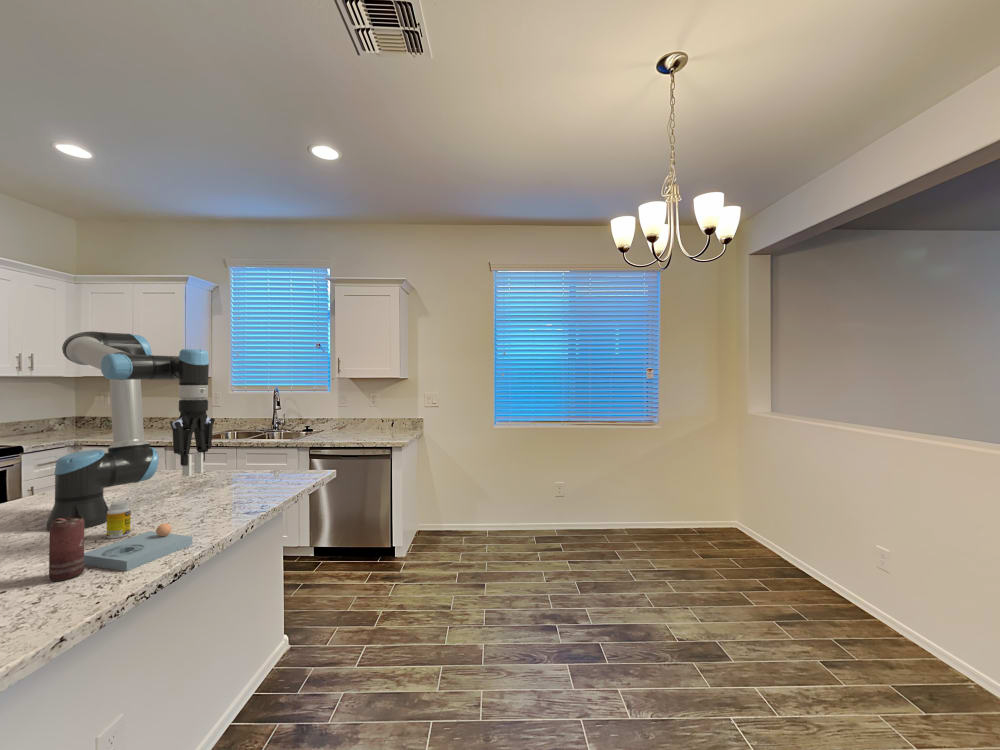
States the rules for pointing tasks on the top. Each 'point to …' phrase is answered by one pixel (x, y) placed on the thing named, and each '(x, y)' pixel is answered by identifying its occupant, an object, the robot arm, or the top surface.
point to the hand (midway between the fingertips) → (192, 474)
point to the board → (136, 551)
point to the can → (66, 548)
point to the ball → (163, 529)
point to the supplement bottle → (118, 520)
